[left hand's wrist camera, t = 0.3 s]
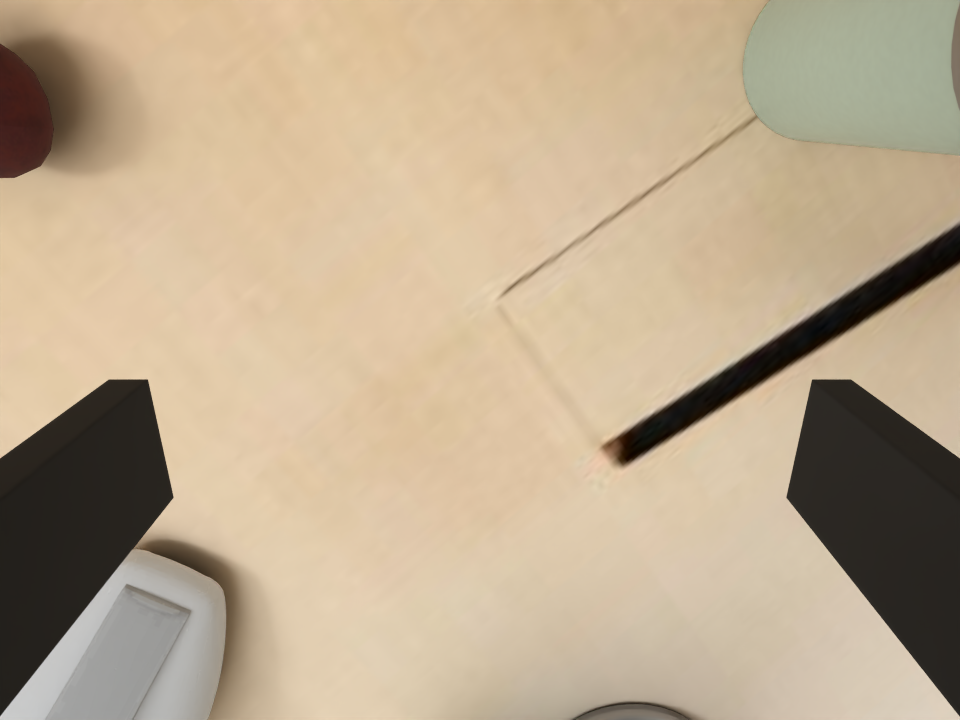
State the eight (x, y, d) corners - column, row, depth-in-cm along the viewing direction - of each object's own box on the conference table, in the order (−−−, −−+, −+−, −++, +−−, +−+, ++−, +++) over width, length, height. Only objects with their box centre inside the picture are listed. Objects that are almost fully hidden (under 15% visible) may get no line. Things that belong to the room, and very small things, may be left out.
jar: (763, -44, 33) (1107, -229, 15) (927, -29, 34) (1461, -195, 15) (726, 134, 37) (971, 159, 18) (875, 146, 37) (1263, 181, 19)
